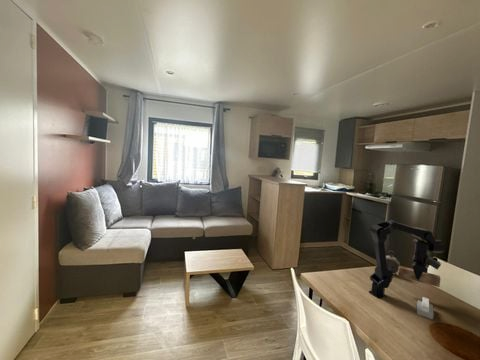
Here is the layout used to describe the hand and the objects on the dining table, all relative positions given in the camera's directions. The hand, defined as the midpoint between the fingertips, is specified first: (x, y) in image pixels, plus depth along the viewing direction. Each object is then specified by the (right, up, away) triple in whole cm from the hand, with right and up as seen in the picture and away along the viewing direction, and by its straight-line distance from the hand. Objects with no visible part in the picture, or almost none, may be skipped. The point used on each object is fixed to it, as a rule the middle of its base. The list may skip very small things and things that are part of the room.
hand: (417, 278), depth 125 cm
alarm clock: (+2, -9, +27) cm, 29 cm away
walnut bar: (0, -1, 0) cm, 1 cm away
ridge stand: (-6, -12, -12) cm, 18 cm away
